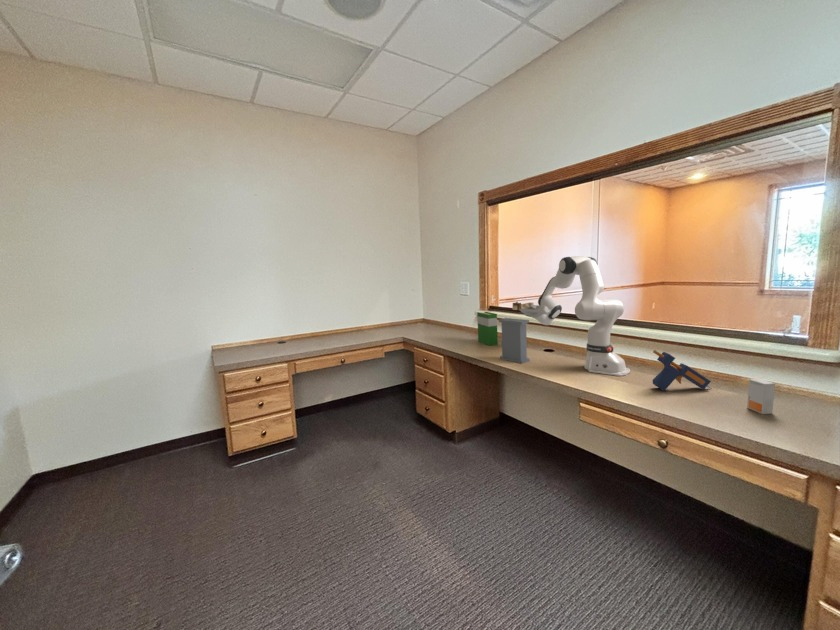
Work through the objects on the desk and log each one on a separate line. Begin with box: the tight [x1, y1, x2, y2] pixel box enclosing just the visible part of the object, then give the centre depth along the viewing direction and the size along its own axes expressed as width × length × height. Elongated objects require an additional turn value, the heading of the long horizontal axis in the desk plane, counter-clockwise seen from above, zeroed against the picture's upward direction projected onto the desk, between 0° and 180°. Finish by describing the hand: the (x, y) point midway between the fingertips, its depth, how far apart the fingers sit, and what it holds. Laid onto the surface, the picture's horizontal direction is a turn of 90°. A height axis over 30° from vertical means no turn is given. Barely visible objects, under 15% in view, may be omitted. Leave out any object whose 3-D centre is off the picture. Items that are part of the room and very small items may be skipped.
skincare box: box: [746, 377, 776, 415], centre depth 131 cm, size 6×4×12 cm
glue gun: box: [652, 349, 712, 392], centre depth 157 cm, size 6×31×15 cm
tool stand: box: [498, 317, 531, 364], centre depth 219 cm, size 17×8×26 cm, turn 39°
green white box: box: [476, 311, 499, 347], centre depth 269 cm, size 18×7×24 cm, turn 18°
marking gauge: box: [511, 301, 535, 311], centre depth 223 cm, size 20×5×5 cm, turn 130°
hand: (527, 304), depth 227 cm, fingers closed on marking gauge, 2 cm apart
